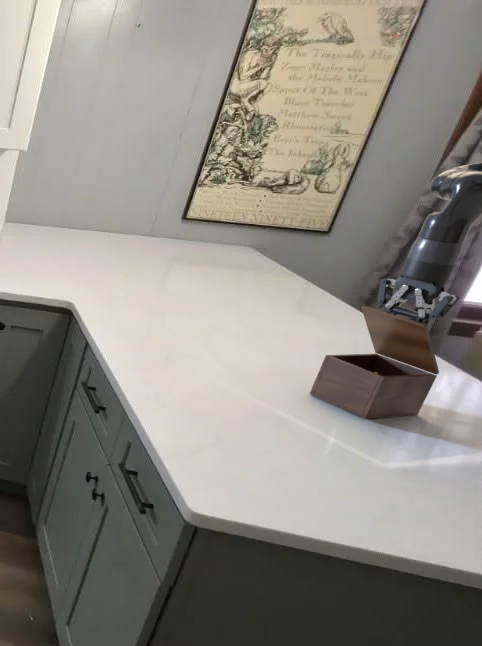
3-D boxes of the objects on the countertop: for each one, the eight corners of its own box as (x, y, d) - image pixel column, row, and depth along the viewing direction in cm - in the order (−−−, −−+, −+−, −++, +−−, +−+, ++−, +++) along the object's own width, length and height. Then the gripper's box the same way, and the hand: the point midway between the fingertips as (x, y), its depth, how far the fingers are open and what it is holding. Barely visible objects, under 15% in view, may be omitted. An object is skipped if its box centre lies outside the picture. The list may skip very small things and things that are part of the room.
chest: (365, 418, 148) (384, 377, 144) (309, 393, 160) (325, 354, 156) (416, 416, 151) (437, 375, 147) (358, 391, 162) (375, 353, 159)
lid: (423, 326, 141) (442, 313, 140) (360, 307, 152) (378, 295, 152) (436, 374, 147) (454, 362, 146) (375, 352, 159) (391, 341, 158)
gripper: (485, 267, 136) (451, 339, 142) (407, 250, 150) (378, 316, 156) (458, 268, 135) (424, 340, 141) (382, 250, 148) (354, 317, 154)
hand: (400, 327), depth 148 cm, fingers closed on lid, 5 cm apart
